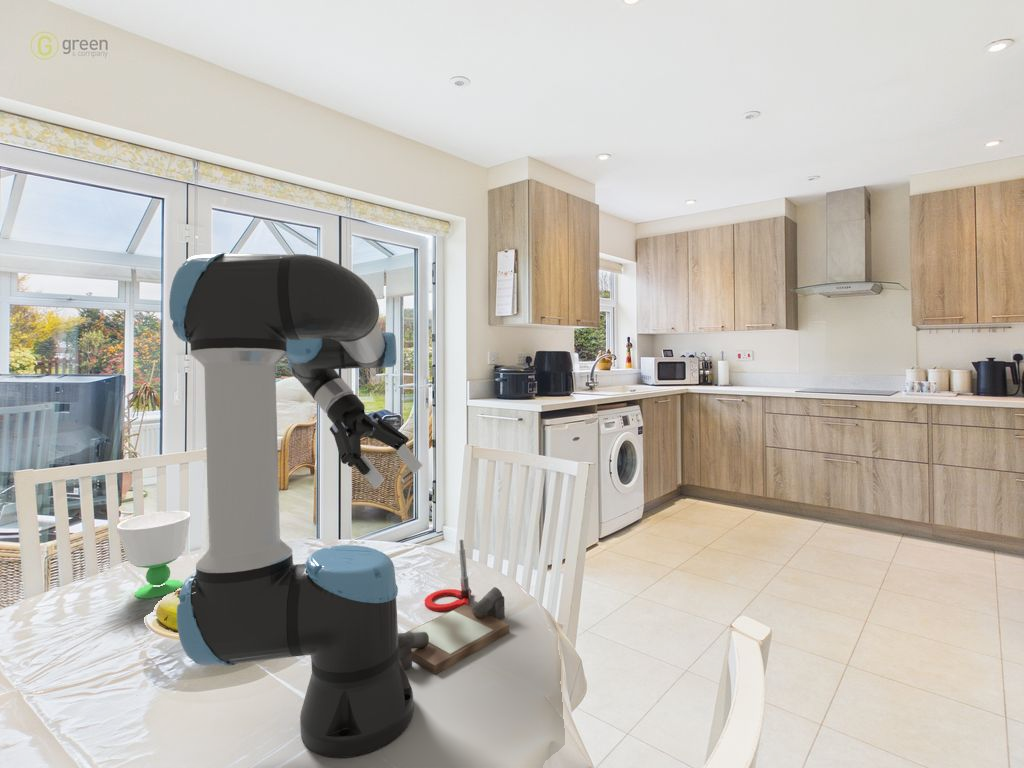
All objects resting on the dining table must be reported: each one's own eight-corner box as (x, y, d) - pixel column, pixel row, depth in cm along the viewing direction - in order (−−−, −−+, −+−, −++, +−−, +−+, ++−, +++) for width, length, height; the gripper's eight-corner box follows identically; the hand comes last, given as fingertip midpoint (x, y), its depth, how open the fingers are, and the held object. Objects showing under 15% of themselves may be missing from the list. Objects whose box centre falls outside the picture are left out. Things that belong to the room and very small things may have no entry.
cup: (117, 589, 120) (112, 519, 119) (187, 571, 129) (183, 506, 128) (125, 610, 110) (120, 534, 109) (201, 589, 119) (197, 519, 118)
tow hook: (420, 614, 106) (467, 611, 106) (415, 549, 105) (462, 547, 105) (429, 595, 114) (472, 593, 114) (424, 535, 114) (467, 533, 113)
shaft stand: (416, 685, 82) (415, 649, 82) (373, 656, 91) (372, 623, 90) (522, 624, 100) (521, 595, 100) (478, 605, 108) (477, 577, 108)
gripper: (368, 409, 131) (422, 475, 126) (287, 423, 108) (350, 503, 103) (385, 388, 128) (441, 453, 123) (306, 397, 105) (371, 478, 100)
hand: (400, 476), depth 113 cm, fingers open, 13 cm apart
